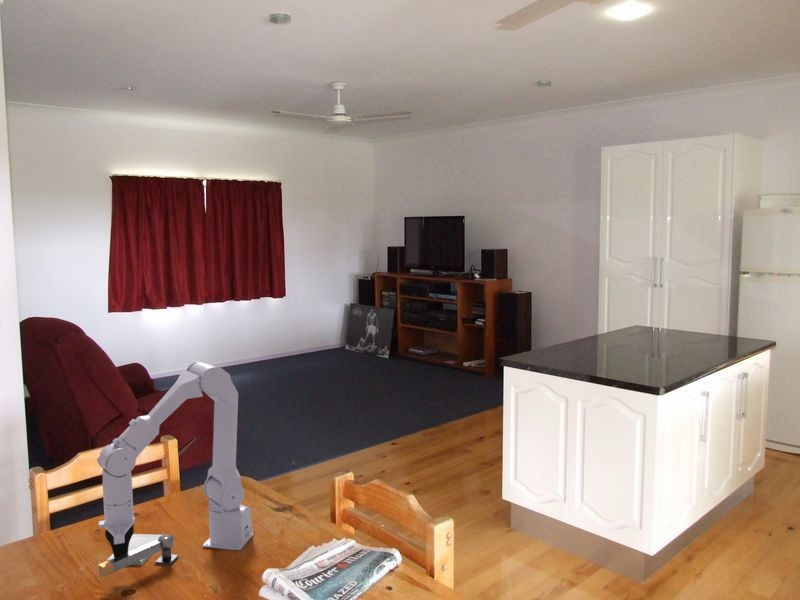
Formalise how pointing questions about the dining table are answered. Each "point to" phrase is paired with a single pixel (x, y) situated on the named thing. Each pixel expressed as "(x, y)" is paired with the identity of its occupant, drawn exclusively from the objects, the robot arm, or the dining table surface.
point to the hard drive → (139, 544)
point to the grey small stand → (166, 558)
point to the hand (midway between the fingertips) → (121, 560)
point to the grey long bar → (136, 555)
